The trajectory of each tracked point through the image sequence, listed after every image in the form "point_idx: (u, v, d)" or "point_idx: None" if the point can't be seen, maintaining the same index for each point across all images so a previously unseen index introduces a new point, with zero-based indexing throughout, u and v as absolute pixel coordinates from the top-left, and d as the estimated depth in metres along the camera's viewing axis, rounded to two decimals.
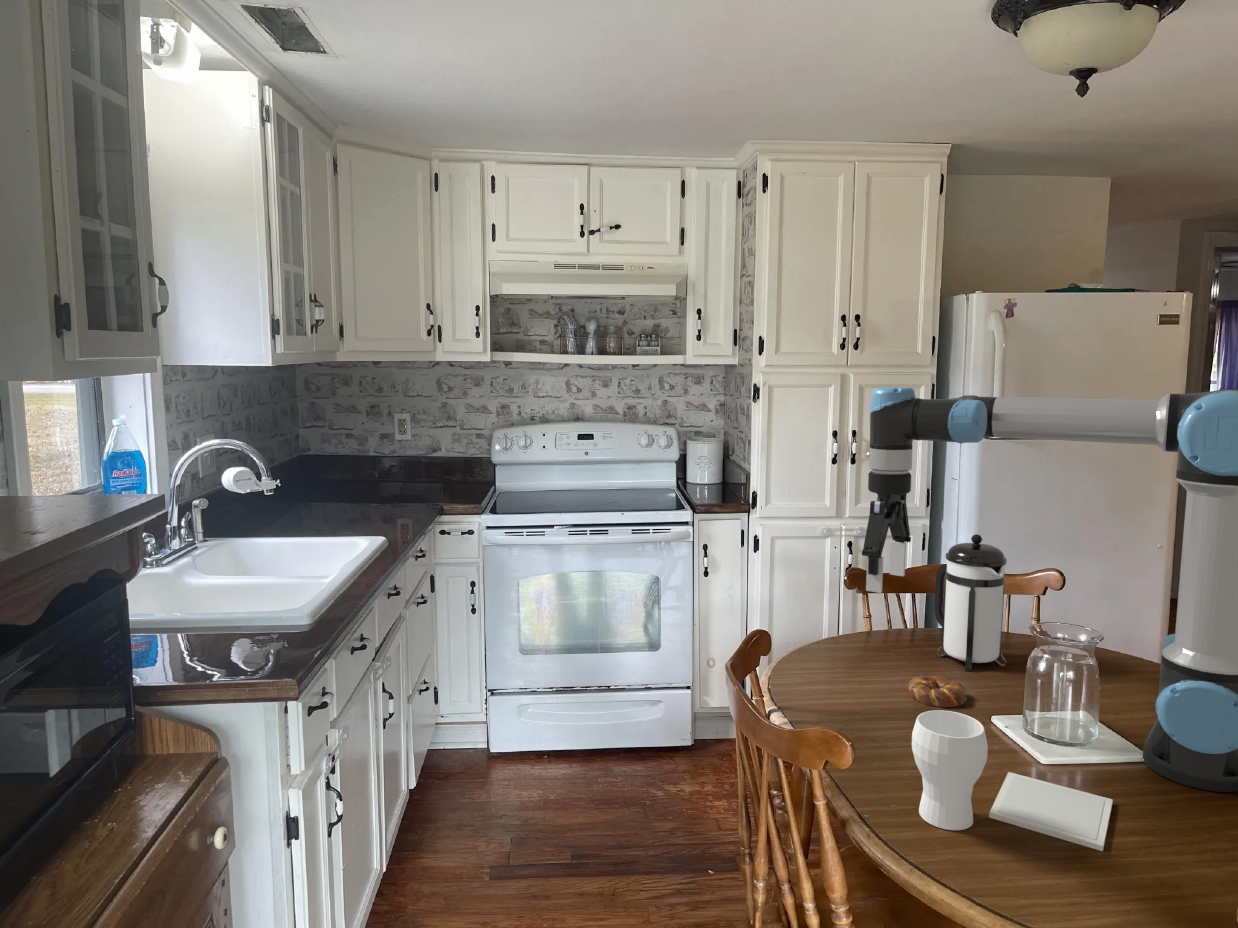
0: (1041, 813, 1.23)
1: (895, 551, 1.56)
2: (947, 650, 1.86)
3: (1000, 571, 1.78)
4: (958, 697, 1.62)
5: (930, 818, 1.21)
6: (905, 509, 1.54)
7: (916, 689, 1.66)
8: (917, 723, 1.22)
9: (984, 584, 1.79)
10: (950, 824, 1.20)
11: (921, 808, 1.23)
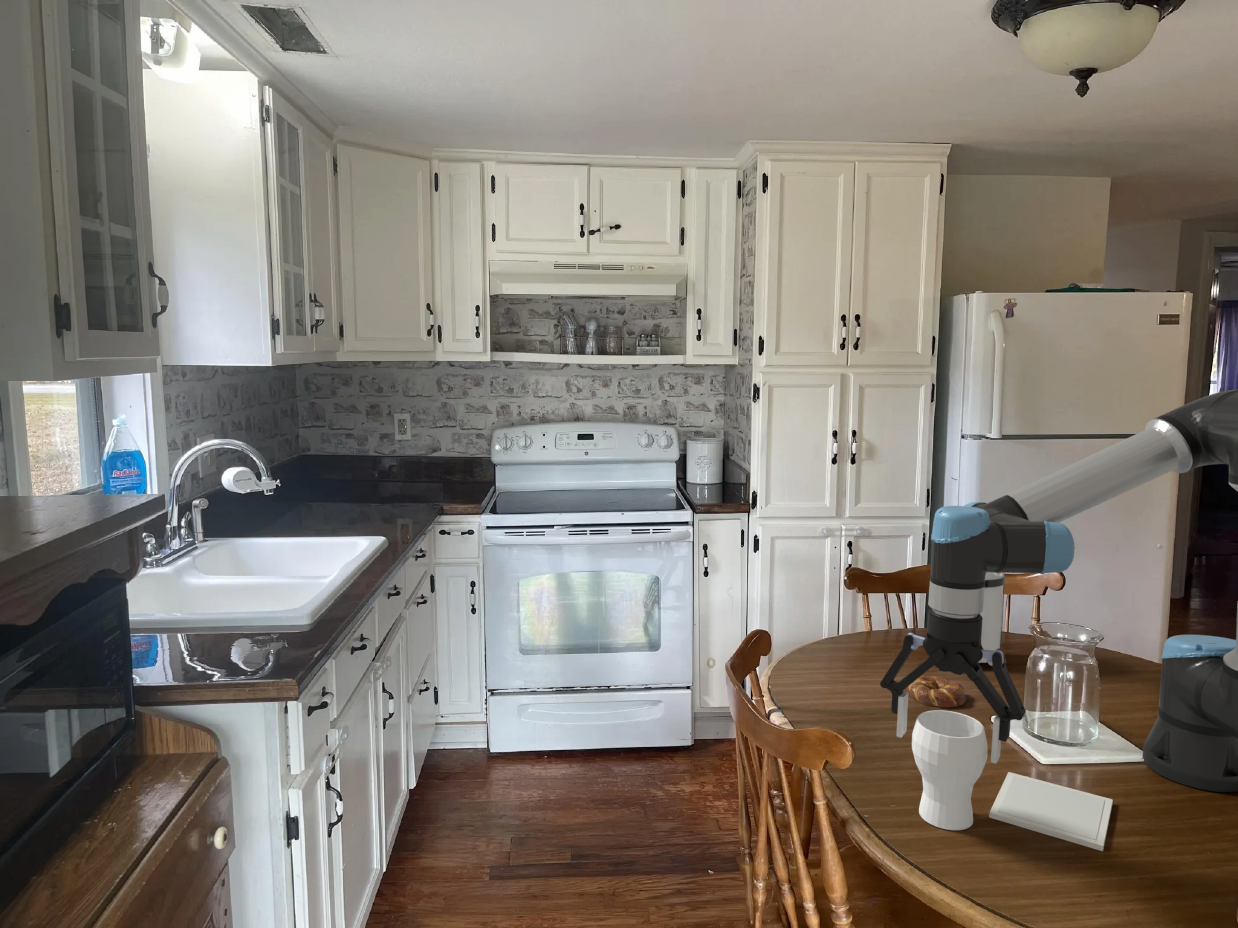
0: (1041, 813, 1.23)
1: None
2: None
3: None
4: (957, 698, 1.62)
5: (930, 818, 1.21)
6: (999, 676, 1.16)
7: (915, 689, 1.66)
8: (917, 723, 1.22)
9: None
10: (950, 824, 1.20)
11: (921, 808, 1.23)
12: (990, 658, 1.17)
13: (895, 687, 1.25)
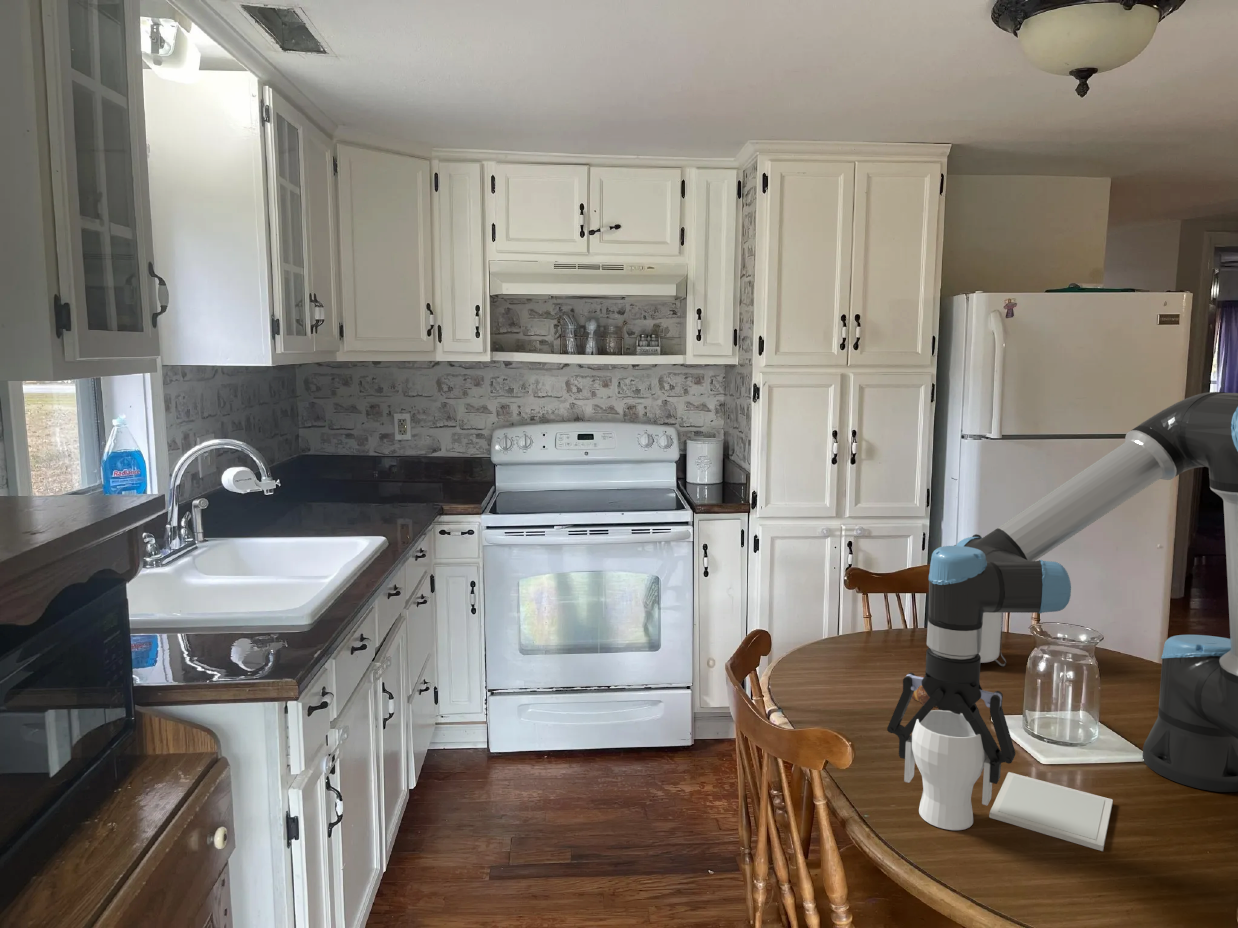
0: (1041, 813, 1.23)
1: None
2: None
3: None
4: None
5: (930, 818, 1.21)
6: (994, 718, 1.17)
7: None
8: (917, 723, 1.22)
9: None
10: (950, 824, 1.20)
11: (921, 808, 1.23)
12: (988, 700, 1.18)
13: (902, 732, 1.25)
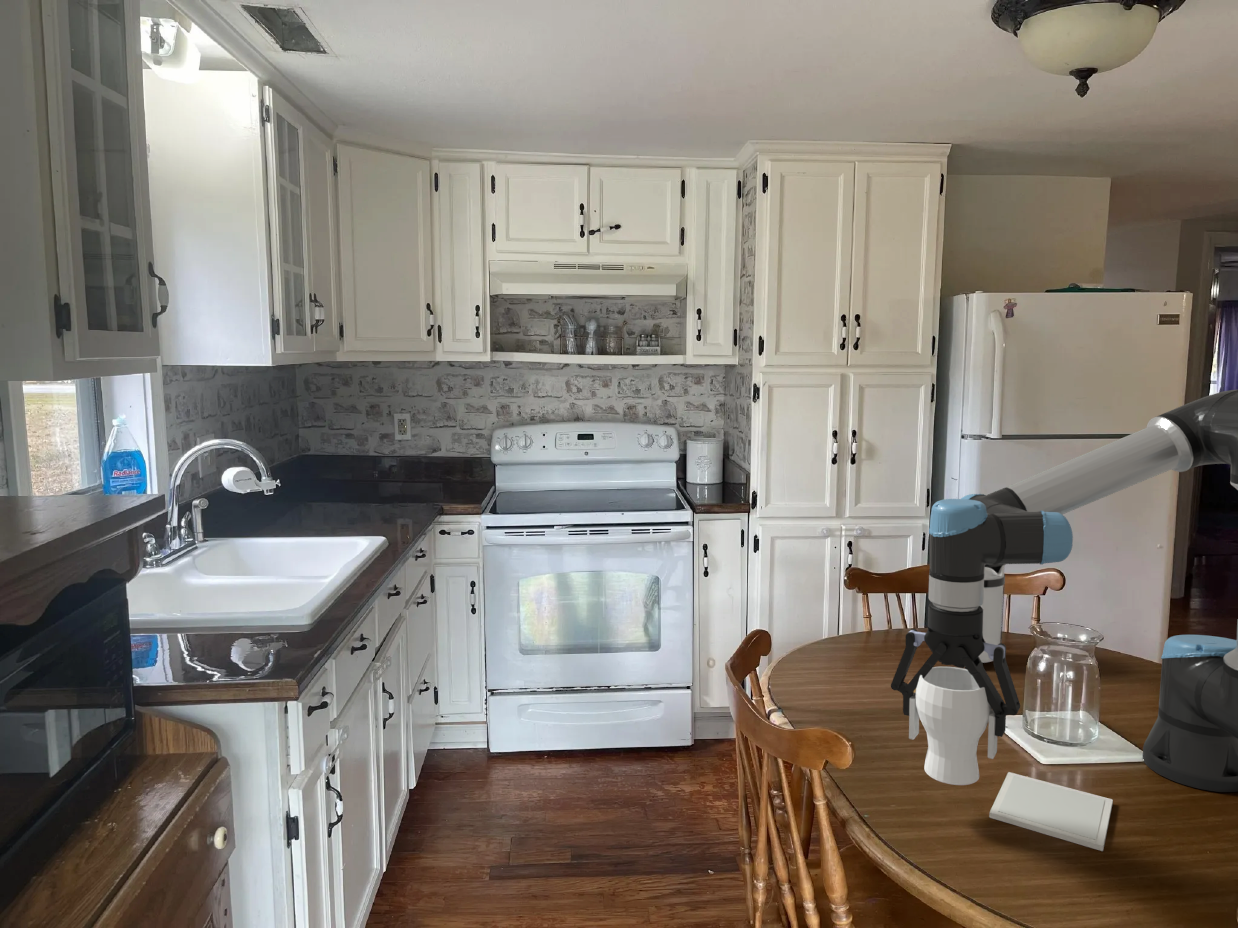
0: (1041, 813, 1.23)
1: None
2: None
3: (1000, 571, 1.78)
4: None
5: (936, 774, 1.20)
6: (998, 670, 1.16)
7: (915, 689, 1.66)
8: (920, 679, 1.21)
9: (984, 584, 1.79)
10: (956, 779, 1.19)
11: (926, 765, 1.23)
12: (991, 652, 1.17)
13: (905, 689, 1.24)
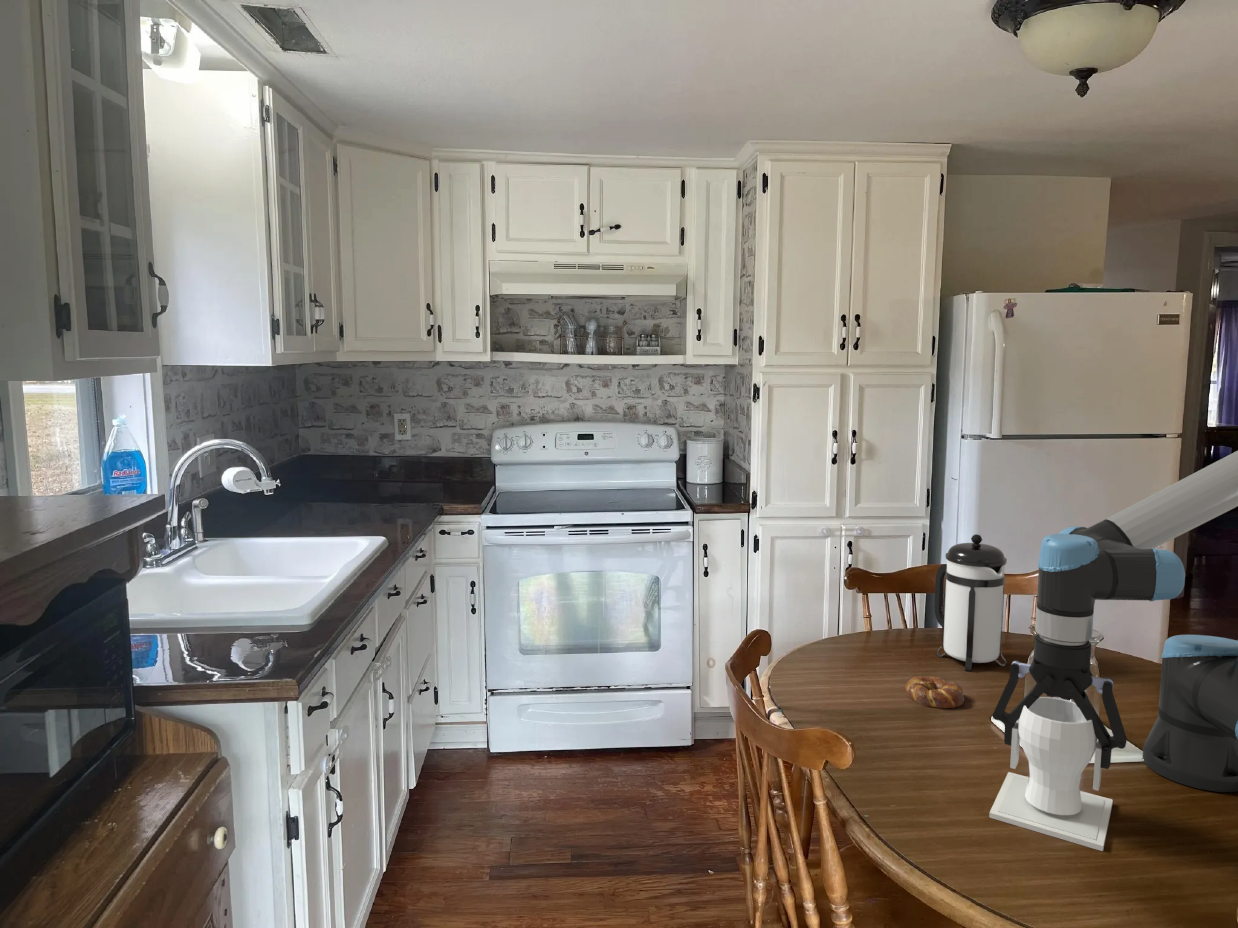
0: (1041, 813, 1.23)
1: None
2: (947, 650, 1.86)
3: (1000, 571, 1.78)
4: (956, 698, 1.62)
5: (1039, 803, 1.22)
6: (1107, 704, 1.18)
7: (914, 690, 1.66)
8: (1025, 709, 1.23)
9: (984, 584, 1.79)
10: (1060, 809, 1.21)
11: (1028, 794, 1.25)
12: (1100, 686, 1.19)
13: (1008, 719, 1.26)
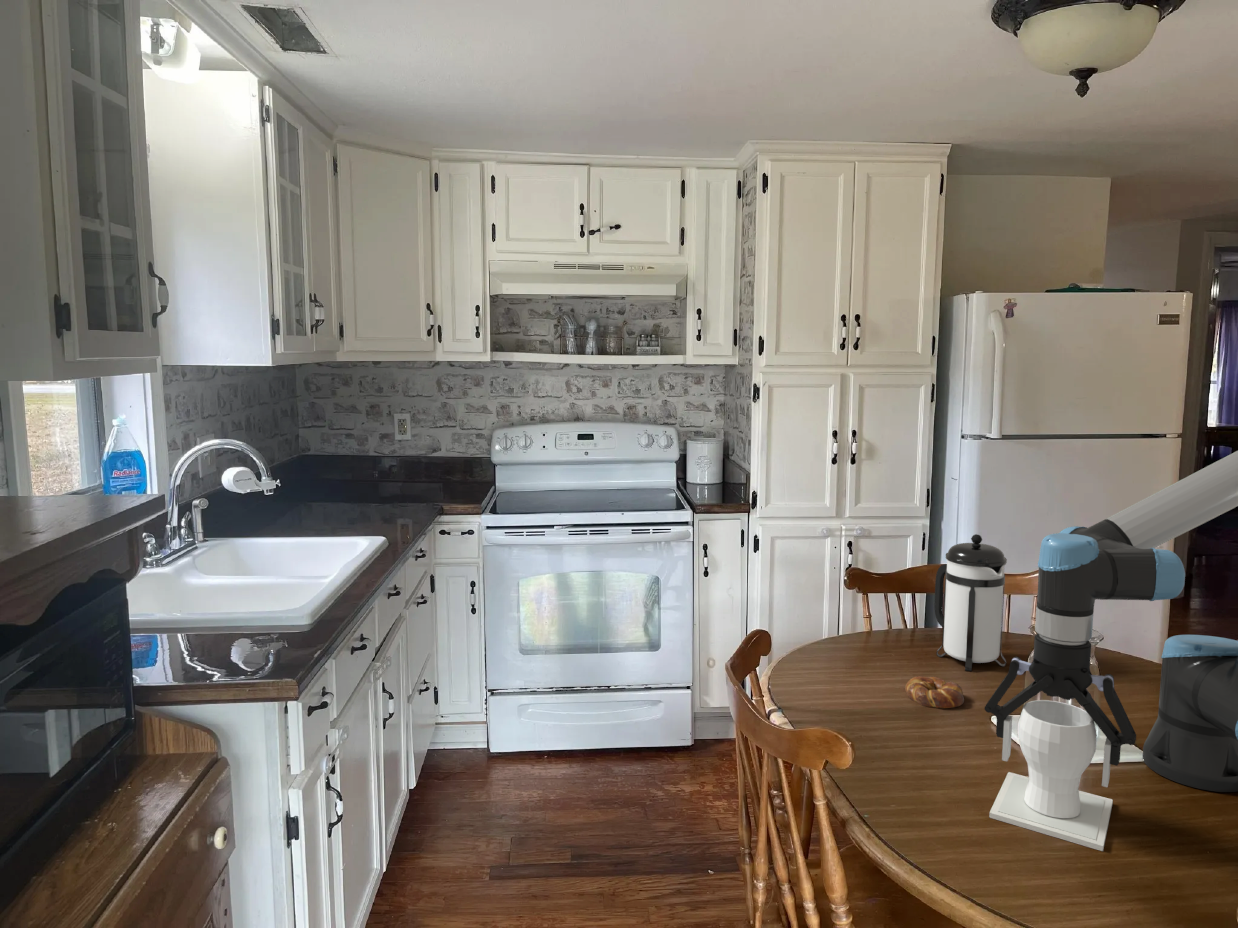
0: None
1: None
2: (947, 650, 1.86)
3: (1000, 571, 1.78)
4: (955, 699, 1.62)
5: (1038, 806, 1.23)
6: (1110, 701, 1.17)
7: (913, 690, 1.66)
8: (1024, 713, 1.23)
9: (984, 584, 1.79)
10: (1059, 812, 1.21)
11: (1027, 797, 1.25)
12: (1100, 684, 1.19)
13: (1000, 711, 1.27)
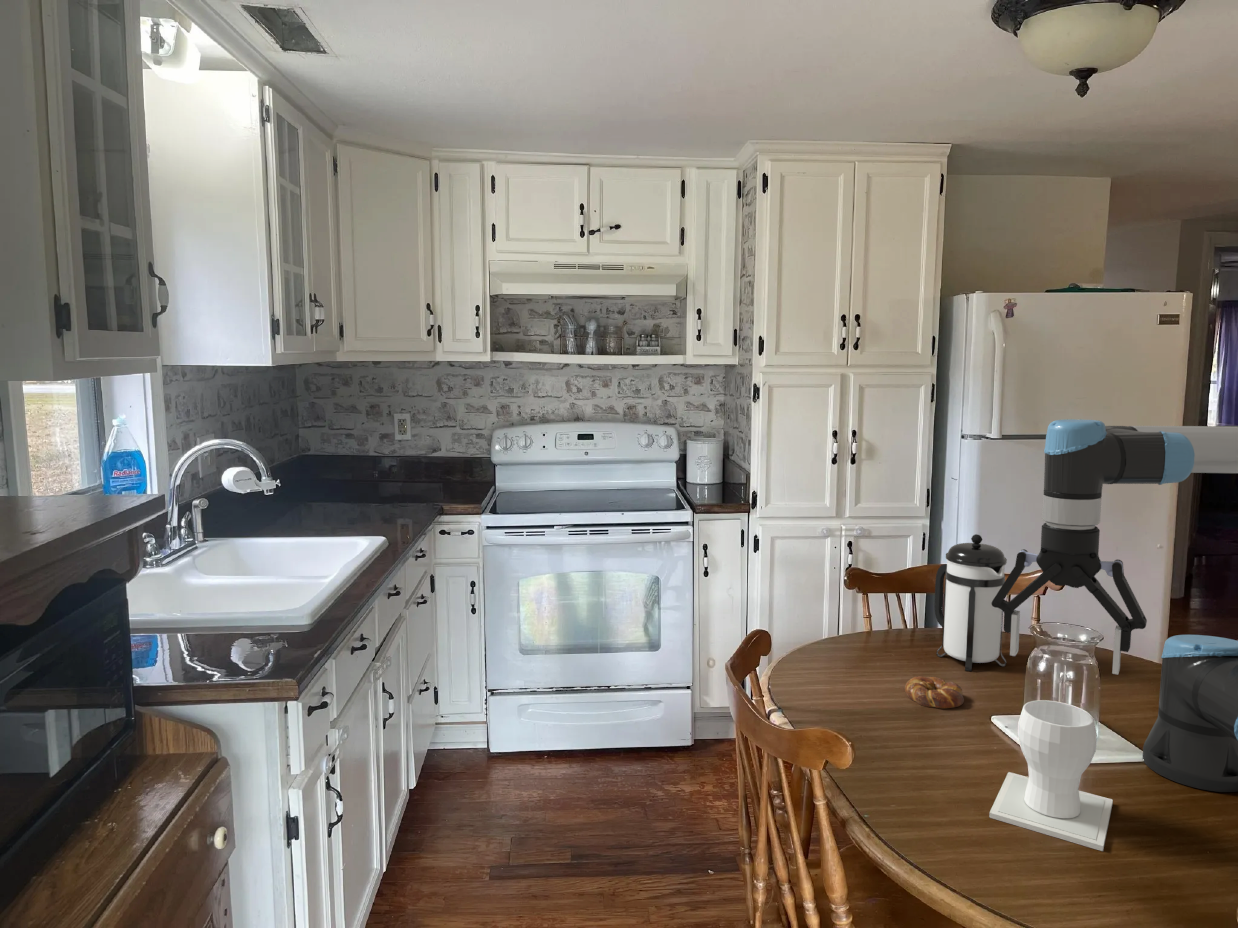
0: None
1: None
2: (947, 650, 1.86)
3: (1000, 571, 1.78)
4: (955, 699, 1.61)
5: (1038, 806, 1.23)
6: (1119, 586, 1.15)
7: (913, 690, 1.66)
8: (1025, 713, 1.23)
9: (984, 584, 1.79)
10: (1059, 812, 1.21)
11: (1027, 797, 1.25)
12: (1109, 569, 1.16)
13: (1008, 605, 1.24)
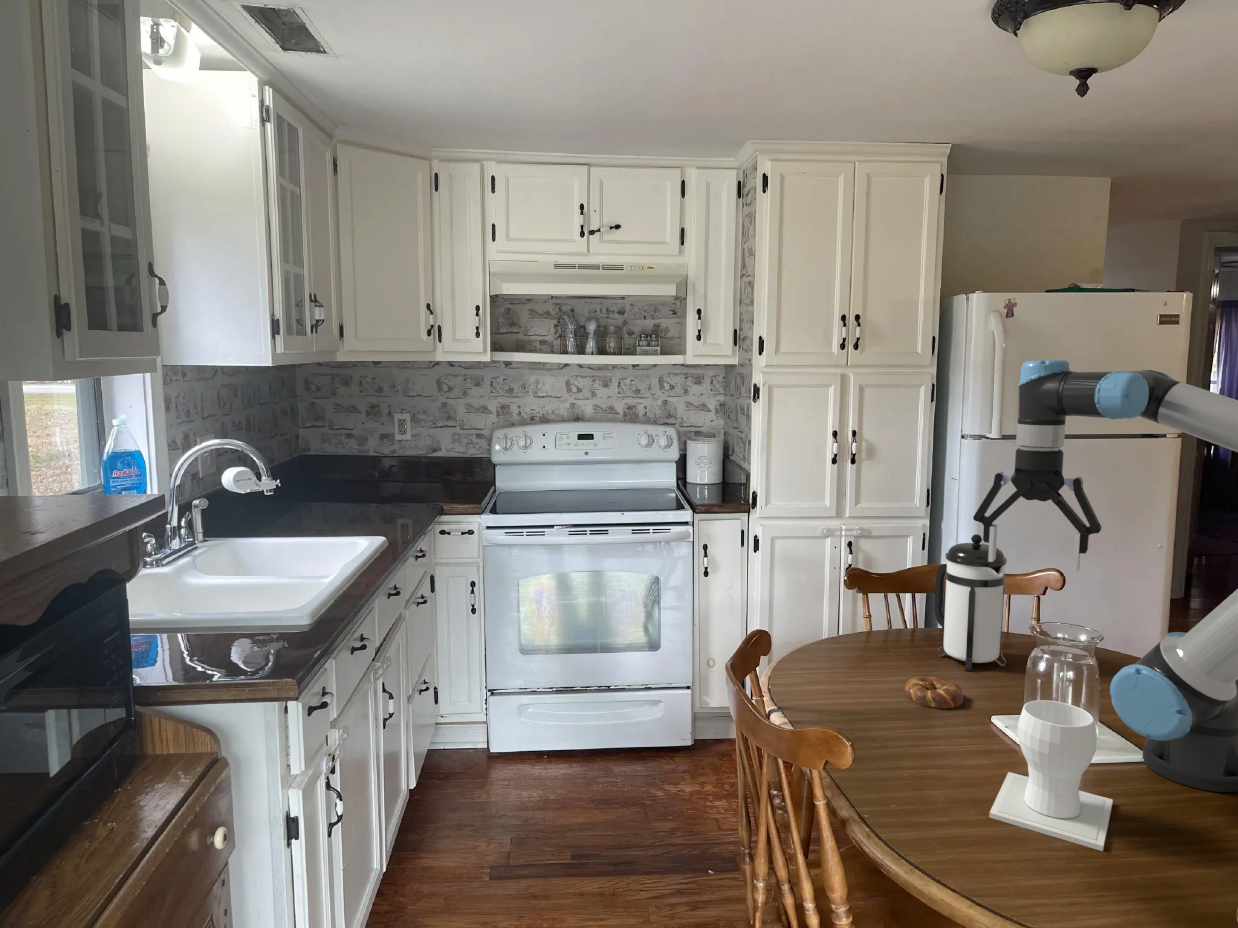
0: None
1: None
2: (947, 650, 1.86)
3: (1000, 571, 1.78)
4: (955, 699, 1.61)
5: (1038, 806, 1.23)
6: (1079, 497, 1.38)
7: (913, 690, 1.66)
8: (1025, 712, 1.23)
9: (984, 584, 1.79)
10: (1059, 812, 1.21)
11: (1027, 797, 1.25)
12: (1071, 484, 1.39)
13: (987, 519, 1.47)
